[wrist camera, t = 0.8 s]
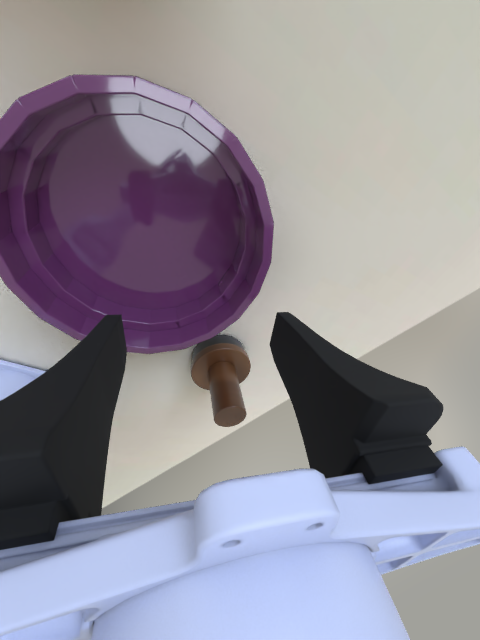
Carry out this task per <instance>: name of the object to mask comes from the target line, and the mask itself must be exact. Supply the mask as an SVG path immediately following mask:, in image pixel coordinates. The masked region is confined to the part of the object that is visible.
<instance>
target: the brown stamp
mask: <svg viewBox="0 0 480 640" xmlns="http://www.w3.org/2000/svg"><path fill="white" fill-rule="evenodd" d="M250 367H251V365H250V360H249V357H248V355H247V353H246V352H245V351H244V348H243V346H242V344H241V343H240V342H239V341H238V340H237V339H235V338H233V337H231V336H226V335H217V336H214V337H212V338H211V339H208V340H206V341H203V342H200V343H199V344H198V345H197V346H196V348H195V349H194V351H193V354H192V363H191V376H192V379H193V381H194V382H195V383H196V384H197V385H198V386H199V387H201V388H203V389H206V390H210V394H211V401H212V409H213V416H214V421H215V423H216V424H217V425H219V426H223V427H230V426H234V425H237V424H239V423H241V422H242V421H243V420H244V419H245V417H246V410H245V406H244V402H243V398H242V394H241V390H240V386H239V384H240V383H241V382H243V381H244V380H245V378H246V377H247V376H248V374H249V372H250Z"/></svg>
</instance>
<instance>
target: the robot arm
mask: <svg viewBox="0 0 480 640" xmlns="http://www.w3.org/2000/svg"><path fill="white" fill-rule="evenodd" d="M270 347H271V351H272V355H273V358H274V362H275V364H276V367H277V369H278V371H279V374H280V376H281V378H282V381H283V383H284V385H285V387H286V390H287V392H288V394H289V397H290V399H291V401H292V404H293V407H294V410H295V413H296V417H297V420H298V423H299V426H300V430H301V434H302V437H303V441H304V445H305V448H306V452H307V457H308V460H309V465H310V469H295V470H289V471H282V472H276V473H269V474H262V475H255V476H249V477H242V478H236V479H230V480H226V481H222V482H219V483H215V484H213V485H211V486H210V487H208V488H206V489H204V490H203V491H202V492H201V493H200V494H199V496H198V497H197V499H196V500H193V501H187V502H181V503H174V504H168V505H162V506H156V507H150V508H144V509H138V510H133V511H126V512H120V513H114V514H107V515H101V509H102V499H103V489H104V480H105V471H106V463H107V455H108V447H109V439H110V432H111V425H112V419H113V415H114V410H115V407H116V403H117V399H118V395H119V391H120V387H121V383H122V379H123V375H124V371H125V363H126V354H127V347H126V341H125V334H124V328H123V322H122V315H106V316H104V317H103V319H102V320H101V321H100V322H99V323H98V324H97V325H96V326H95V327H94V328H93V329H92V330H91V332H90V333H89V334H88V335H87V336H86V337H85V338H84V339H83V340H82V341H81V342H80V343H79V344H78V345H77V346H76V347H75V348H74V349H72V350H71V351H70V352H69V353H68V354H67V355H66V356H65V357H64V358H62V359H61V360H60V361H59V362H58V363H56V364H55V365H54V366H53V367H51V368H50V369H49V370H47V371H43V370H39V369H35V368H32V367H28V366H24V365H20V364H16V363H12V362H8V361H4V360H0V640H410V638H409V636H408V634H407V631H406V629H405V627H404V625H403V623H402V621H401V619H400V616H399V614H398V612H397V609H396V607H395V605H394V603H393V601H392V598H391V597H390V594H389V592H388V590H387V588H386V586H385V584H384V581H383V579H382V577H381V575H382V574H385V573H387V572H391V571H394V570H397V569H400V568H402V567H406V566H409V565H412V564H415V563H418V562H421V561H424V560H427V559H430V558H433V557H437V556H440V555H443V554H446V553H450V552H453V551H456V550H459V549H464V548H467V547H471V546H474V545H478V544H480V464H479V462H478V461H477V460H476V459H475V458H474V457H473V455H472V454H470V452H469V451H468V450H467V449H466V448H465V447H462V446H461V447H456V448H449V449H443V450H440V451H437V452H435V453H433V452H432V450H431V449H430V448H429V446H430V445H431V444H432V443H431V440H430V439H429V438H428V436H427V435H426V434H427V432H428V431H429V430H430V429H431V428H432V427H433V425H434V424H435V423H436V422H437V421H438V420H439V418H440V417H441V415H442V412H443V405H442V403H441V402H440V401H439V400H438V399H437V398H436V397H435V396H434V395H433V393H432V392H431V391H430V390H429V389H428V388H427V387H424V386H421V385H418V384H415V383H412V382H409V381H406V380H403V379H400V378H397V377H395V376H392V375H390V374H387V373H385V372H382V371H380V370H378V369H375V368H373V367H371V366H369V365H367V364H365V363H363V362H361V361H359V360H357V359H355V358H354V357H352V356H350V355H348V354H347V353H345V352H343V351H341V350H340V349H338V348H337V347H335V346H334V345H332V344H331V343H329V342H328V341H326V340H325V339H324V338H322V337H321V336H319V335H318V334H317V333H315V332H314V331H313V330H311V329H310V328H309V327H308V326H306V325H305V324H304V323H302V322H301V321H300V320H299V319H297V318H296V317H295V316H293V315H292V314H290V313H289V312H277V315H276V319H275V324H274V328H273V332H272V336H271V341H270Z"/></svg>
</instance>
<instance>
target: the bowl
mask: <svg viewBox="0 0 480 640" xmlns="http://www.w3.org/2000/svg"><path fill="white" fill-rule="evenodd" d="M273 228H274V221H273V217H272V213H271V209H270V205H269V201H268V197H267V193H266V189H265V185H264V181H263V179H262V177H261V176H260V174H259V172H258V171H257V169H256V167H255V166H254V164H253V163H252V161H251V159H250V158H249V156H248V154H247V153H246V151H245V150H244V148H243V146H242V145H241V143H240V141H239V140H238V138H237V137H236V136H235V135H234V134H233V133H232V132H231V131H229V130H228V129H227V128H226V127H225V126H224V125H222V124H221V123H220V122H219V121H218V120H217V119H215V118H214V117H213V116H212V115H211V114H210V113H208V112H207V111H206V110H205V109H204V108H203V107H201V106H200V105H199V104H198V103H197V102H196V101H194V100H192V99H191V98H189V97H187V96H184V95H182V94H179V93H177V92H174V91H172V90H169V89H167V88H164V87H162V86H159V85H157V84H154V83H152V82H149V81H147V80H144V79H142V78H139V77H137V76H135V77H134V76H133V75H72V76H71V75H69V76H67V77H65V78H62V79H60V80H58V81H56V82H53V83H51V84H49V85H46V86H44V87H42V88H40V89H37V90H35V91H33V92H30V93H28V94H26V95H24V96H21V97H19V98H18V99H17V100H15V101H14V103H13V104H12V105H11V106H10V108H9V109H8V110H7V111H6V113H5V114H4V115H3V116H2V117H1V119H0V276H1V278H2V280H3V281H4V283H5V285H7V287H8V288H9V289H10V290H11V291H12V292H13V293H14V294H15V295H16V296H17V297H18V298H19V299H20V300H21V301H22V302H23V303H24V304H25V305H26V306H28V307H29V308H30V309H31V310H32V311H33V312H34V313H35V314H36V315H37V316H38V317H39V318H41V319H42V320H44V321H46V322H47V323H49V324H51V325H53V326H54V327H56V328H58V329H59V330H61V331H63V332H65V333H66V334H68V335H70V336H71V337H73V338H76V339H77V340H80V341H82V340H83V339H84V338H85V337H86V336H87V335H88V334H89V333H90V332H91V330H92V329H93V328H94V327H95V326H96V325H97V324H98V323H99V322H100V321H101V320H102V319H103V317H104V316H106V315H122V322H123V328H124V334H125V341H126V347H127V352H132V353H143V354H153V353H160V352H167V351H175V350H182V349H185V348H188V347H190V346H193V345H195V344H198V343H200V342H203V341H206V340H208V339H211V338H212V337H214V336H216V335H217V334H219V333H220V332H221V331H223V330H224V329H226V328H227V327H228V326H230V325H231V324H232V323H234V322H235V321H237V320H238V319H239V318H240V317H241V315H242V314H243V313H244V312H245V310H246V309H247V308H248V306H249V305H250V304H251V303H252V301H253V300H254V299H255V298H256V296H257V295H258V294H259V292H260V289H261V286H262V284H263V281H264V279H265V276H266V274H267V271H268V269H269V266H270V264H271V258H272V243H273Z"/></svg>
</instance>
